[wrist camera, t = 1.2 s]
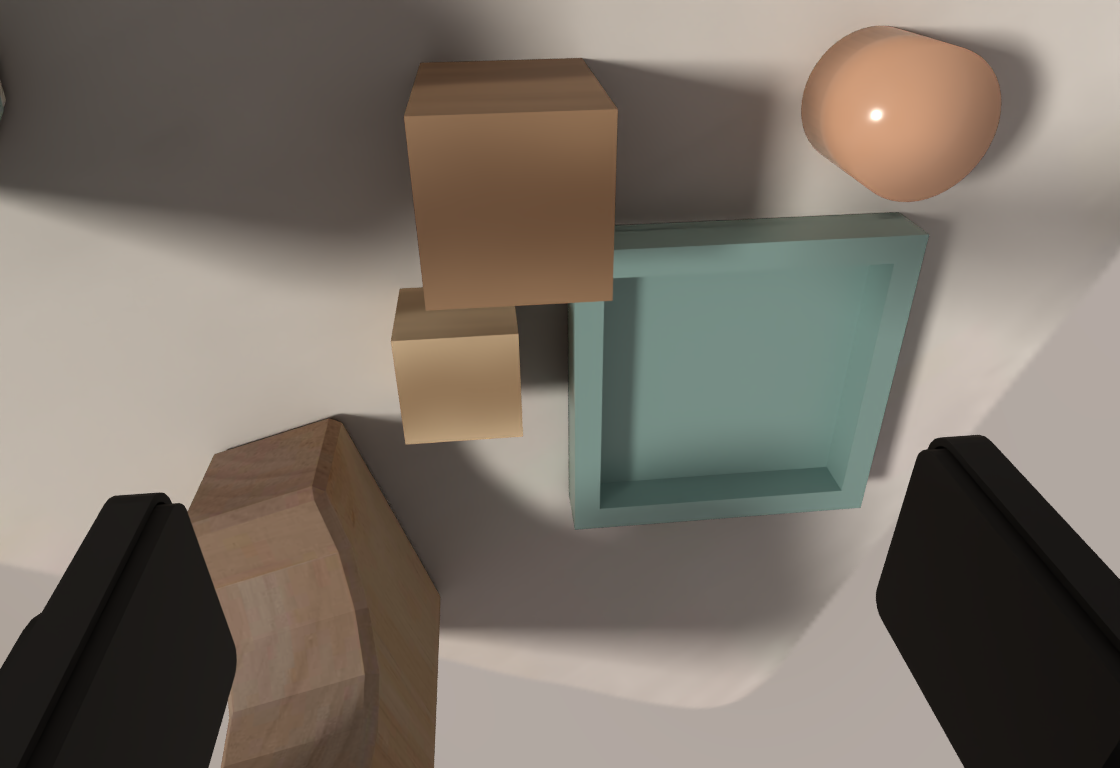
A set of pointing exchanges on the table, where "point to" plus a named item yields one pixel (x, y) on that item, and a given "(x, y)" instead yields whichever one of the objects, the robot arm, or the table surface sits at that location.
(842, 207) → the table surface
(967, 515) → the robot arm
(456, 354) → the oak cube
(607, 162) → the walnut block
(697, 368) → the tray
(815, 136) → the peach round blob
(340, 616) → the decorative block
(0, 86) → the disposable coffee cup
